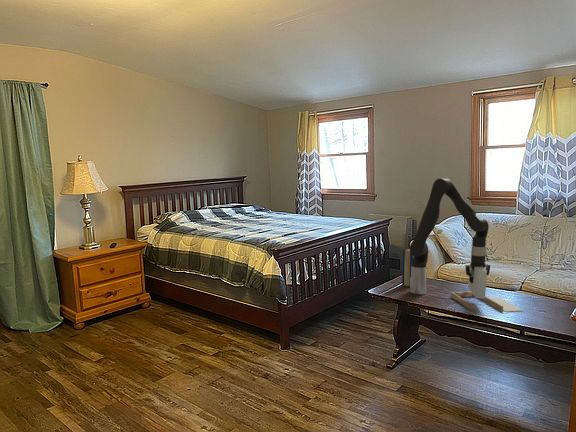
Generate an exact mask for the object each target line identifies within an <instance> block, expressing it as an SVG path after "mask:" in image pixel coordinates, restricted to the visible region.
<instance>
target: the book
mask: <svg viewBox="0 0 576 432" xmlns="http://www.w3.org/2000/svg"><path fill="white" fill-rule="evenodd" d="M413 257H414V256H413V255H412V254H411V253H410V247H408V248H404V249H403V250H402V274H401V275H402V277H401V281H402V282H401V285H402V286H404V287H410V277H411V262H412V260H413Z"/></svg>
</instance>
